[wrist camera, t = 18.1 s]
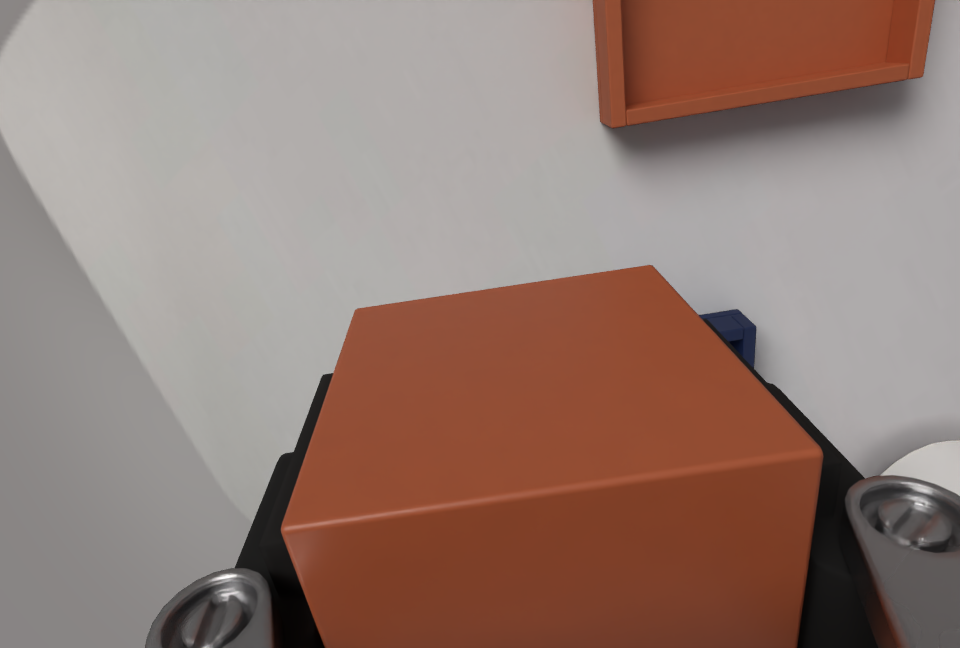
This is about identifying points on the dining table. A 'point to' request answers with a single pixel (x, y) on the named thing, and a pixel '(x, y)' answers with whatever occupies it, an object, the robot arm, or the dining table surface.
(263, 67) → the dining table surface
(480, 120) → the dining table surface
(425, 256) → the dining table surface
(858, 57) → the terracotta tray
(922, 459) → the cup
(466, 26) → the dining table surface
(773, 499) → the terracotta block
